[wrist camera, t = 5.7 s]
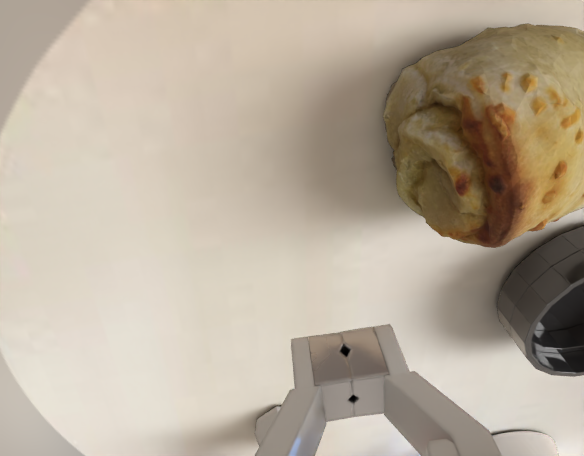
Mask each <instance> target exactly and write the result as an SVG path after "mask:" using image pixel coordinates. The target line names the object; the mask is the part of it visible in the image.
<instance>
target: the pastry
mask: <svg viewBox="0 0 584 456" xmlns="http://www.w3.org/2000/svg"><path fill="white" fill-rule="evenodd" d="M386 104H387V105H386V108H385V111H384V114H383V118H384V121H385V126H386V132H387V139H388V142H389V144H390V146H391V147H392V148H393V149H394V151H393V154H394V156H393V158H392V161H393V164H394V167H395V168H396V170H397V177H396V185H397V191H398V194H399V196H400V197H401V198H402V200H403V201H404V202H405V204H406V205H407V206H408V207H410V208H411V209H412V210H413V211H415V212H416V213H417V214H419V215H421V216H423V217H424V218H425V219H426V223H427V224H428V225H429V226H430V227H431V228H432V229H434V230H435V231H436V232H438V233H439V234H440V235H441V236H442V237H450V238H452V239H454V240H455V239H456V240H458V241H461V242H464V243H469V244H477V245H481V246H484V247H491V248H496V247H500V246H503V245H505V244H507V243H508V242H509V241H511V240H512V239H514V238H516V237H518V236H520V235H522V234H523V233H525V232H526V231H537V230H542V229H544V227H545V225H546V224H547V223H550V222H554V221H557V220H558V219H559V218H561V217H563V216H565V215H567V214H569V213H571V212H574V211H576V210H579V209H582V208H584V31H581V30H579V29H577V28H571V27H564V26H548V25H536V26H534V25H531V24H521V25H518V26H516V27H501V28H487V29H486V30H484V31H483V32H481V33H480V34H478V35H477V36H476V37H474V38H472V39H470V40H469V41H467V42H465V43H463V44H462V45H460V46H457V47H453V48H448V49H444V50H438V51H436V52H434V53H432V54H429V55H427V56H425V57H423V58H422V59H420V61H419V62H417V63H416V64H413V65H410V66H408V67H406V68H404V69H402V73H401V75H400V76H399V78H398V81H397V82H395V83H394V84H393V85H392V86H391V89H390V91H389V93H388V94H387V99H386Z"/></svg>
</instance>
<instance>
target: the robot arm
mask: <svg viewBox="0 0 584 456" xmlns="http://www.w3.org/2000/svg"><path fill="white" fill-rule="evenodd" d="M308 339H309V340H308ZM291 350H292V361H293V372H294V383H295V389H292V390H290V391H289V393H288V395H287V396H286V398H285V400H284V402H283V404H282V406H281V408H280V410H279V411H278V413H277V415H276V417H275V419H274V421H273V423H272V425H271V426H270V428H269V430H268V432H267V434H266V436H265V438H264V439H263V441H262V443H261V445H260V447H259V449H258V451H257V453H256V454H255V456H315V454H316V451H317V448H318V446H319V443H320V440H321V437H322V435H323V432H324V429H325V426H326V422H328V421H334V420H339V419H345V418H351V417H357V416H365V415H374V414H382V413H384V415H385V416H386V417H387V418H388V420H389V421H390V422H391V423H392V424H393V425H394V426H395V427H396V428H397V429H398V431H399V432H400V433H401V434H402V435H403V436H404V437H405V438H406V439H407V440H408V442H409V443H410V444H411V445H412V446H413V447H414V448H415V449H416V450H417V452H418V453H419V454H420V455H421V456H559V454H558V451H557V447H556V444H555V441H554V440H553V439H552V438H551V437H550V436H548V435H546V434H543V433H539V432H533V431H516V432H507V433H502V434H497V435H493V436H492V435H491V433H490V431H489V430H488V429H486V428H485V427H484V426H483V425H481V424H480V423H479V422H478V421H476V420H475V419H474V418H473V417H471V416H470V415H469V414H468V413H466V412H465V411H464V410H463V409H461V408H460V407H459V406H458V405H456V404H455V403H454V402H453V401H451V400H450V399H449V398H448V397H446V396H445V395H444V394H443V393H441V392H440V391H439V390H438V389H436V388H435V387H434V386H433V385H431V384H430V383H429V382H428V381H426V380H425V379H424V378H423V377H421V376H420V375H419V374H418V373H416V372H415V371H412V372H409V369H408V366H407V364H406V361H405V359H404V356H403V354H402V351H401V349H400V346H399V343H398V341H397V338H396V336H395V333H394V331H393V328H392V326H391V325H390V324H388V325H381V326H375V327H366V328H360V329H354V330H348V331H342V332H340V333H332V334H324V335H316V336H308V337H301V338H294V339H291Z"/></svg>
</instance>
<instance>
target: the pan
mask: <svg viewBox="0 0 584 456" xmlns="http://www.w3.org/2000/svg"><path fill="white" fill-rule="evenodd" d="M497 310H498V315H499V321H500V322H501V324H502V325H503V326H504V328H505V329H506V331H507V332H508V333H509V335H510V336H511V337H512V339H513V340H514V342H515V343H516V344H517V346H518V347H519V348H520V350H521V351H522V353H523V354H524V355H525V357H526V358H527V359H528V360H529V361H530V363H531V364H532V365H533V366H534V367H535V368H536V369H538V370H540V371H543V372H545V373H548V374H550V375H557V376H573V377H574V376H581V375H584V226H582V227H579V228H577V229H574V230H571V231H569V232H566V233H563V234H561V235H559V236H557V237H555V238H554V239H552V240H551V241H549V242H547V243H546V244H544V245H542V246H541V247H539V248H537V249H536V250H535V251H533V252H532V253H531V254H530V255H529V256H528V257H527V258H525V260H523V261H522V262H521V263H520V264H519V265H518V266H517V267H516V268H515V269H514V270H513V272H512V273H511V275H510V276H509V278H508V279H507V281H506V282H505V284H504V285H503V287H502V289H501V292H500V296H499V300H498V303H497Z"/></svg>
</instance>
